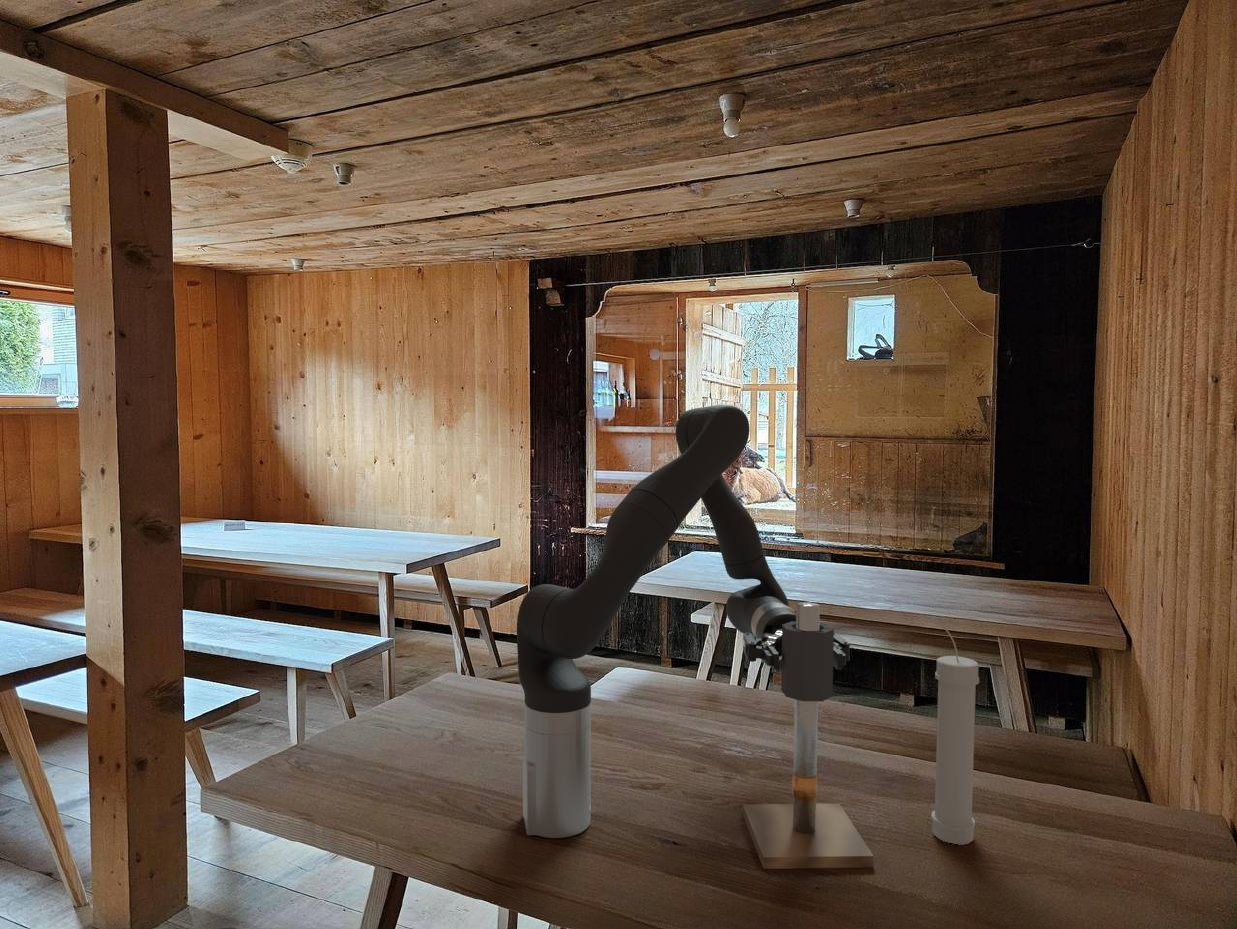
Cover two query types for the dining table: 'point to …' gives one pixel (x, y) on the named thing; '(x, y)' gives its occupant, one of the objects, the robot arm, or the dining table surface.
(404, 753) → the dining table surface
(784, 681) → the collar
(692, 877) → the dining table surface
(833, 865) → the post
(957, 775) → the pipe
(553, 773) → the robot arm
